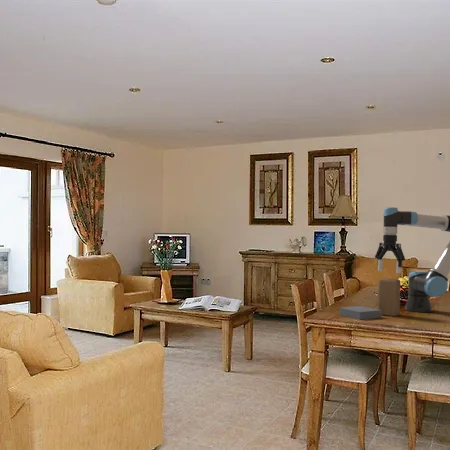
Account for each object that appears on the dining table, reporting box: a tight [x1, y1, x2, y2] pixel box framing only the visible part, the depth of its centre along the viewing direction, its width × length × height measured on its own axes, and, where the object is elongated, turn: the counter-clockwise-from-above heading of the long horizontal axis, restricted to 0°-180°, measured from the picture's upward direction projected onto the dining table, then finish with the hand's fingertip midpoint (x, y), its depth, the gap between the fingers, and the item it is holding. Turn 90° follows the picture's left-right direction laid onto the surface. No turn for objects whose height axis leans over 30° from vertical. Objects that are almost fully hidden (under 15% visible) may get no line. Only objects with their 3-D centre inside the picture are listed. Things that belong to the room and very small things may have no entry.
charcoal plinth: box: [338, 305, 382, 321], centre depth 290 cm, size 16×16×4 cm
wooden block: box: [377, 278, 401, 317], centre depth 297 cm, size 10×10×20 cm
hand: (389, 272), depth 297 cm, fingers open, 13 cm apart
